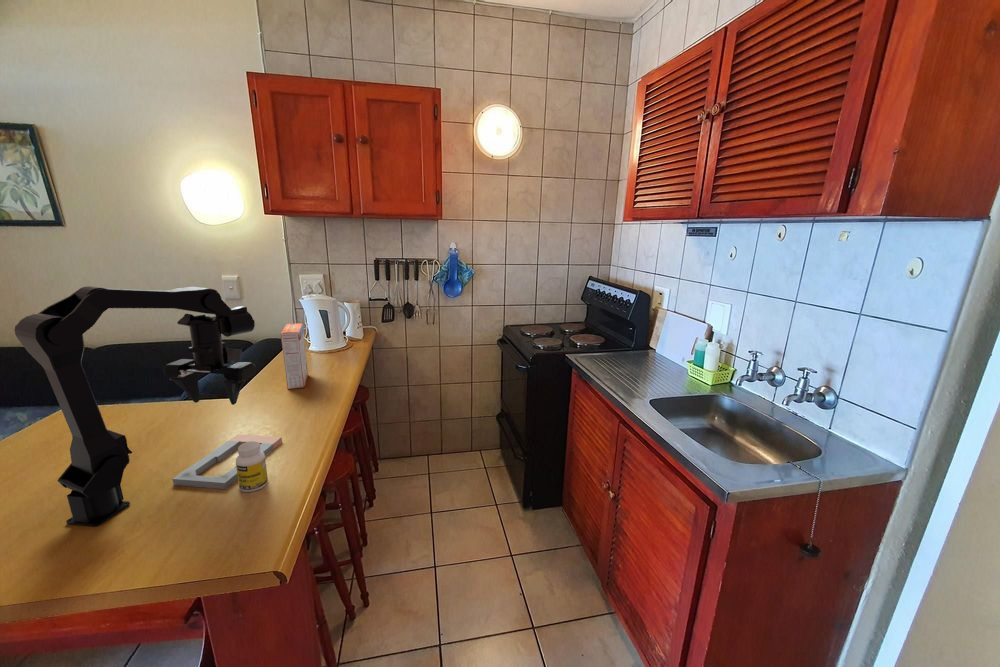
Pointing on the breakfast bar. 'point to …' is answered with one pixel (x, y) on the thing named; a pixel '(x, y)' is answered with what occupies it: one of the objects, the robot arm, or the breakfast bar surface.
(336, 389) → the breakfast bar surface
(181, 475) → the keyhole board
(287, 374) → the cracker box
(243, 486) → the supplement bottle
